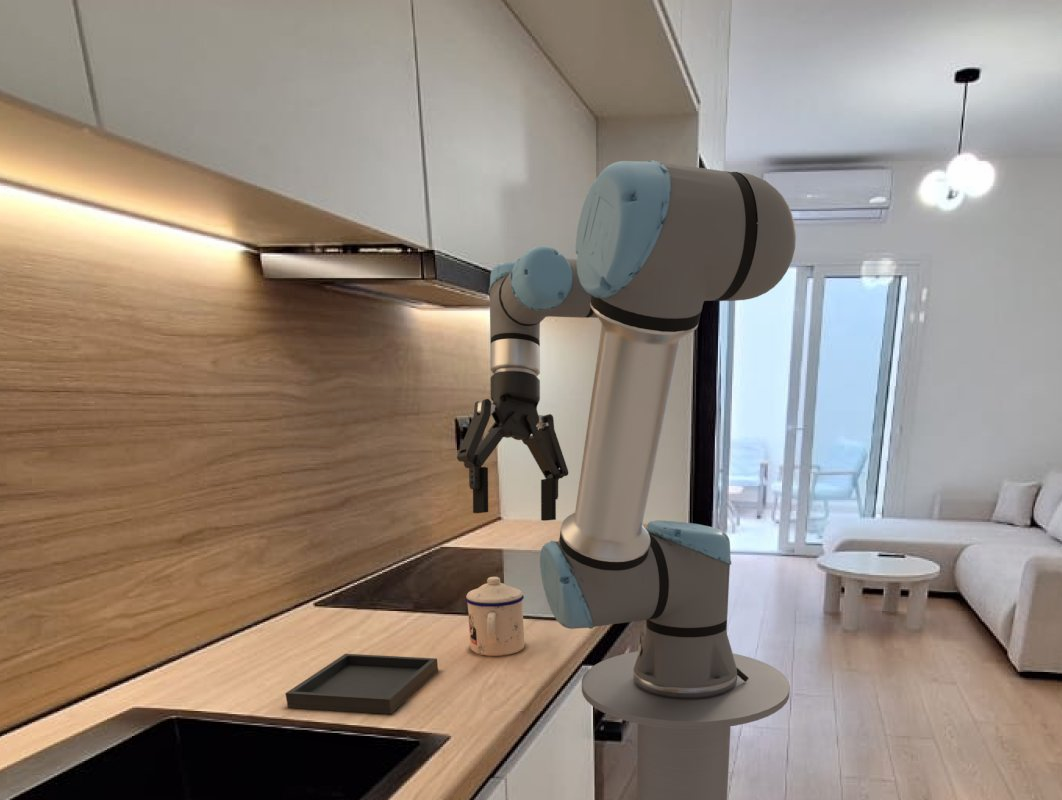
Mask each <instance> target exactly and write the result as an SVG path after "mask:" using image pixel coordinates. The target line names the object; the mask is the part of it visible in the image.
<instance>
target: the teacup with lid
mask: <svg viewBox="0 0 1062 800" xmlns="http://www.w3.org/2000/svg"><path fill="white" fill-rule="evenodd" d="M486 580H487V581H486V583H484V584H482V585H481V586H479V587H478V588H475V589H472V590H470V591H468V592H467V594H466V596H465V601H466V603H467V615H468V616H467V617H468V627H469V628H468V629H469V630H468V631H469V643H470V649H471V651H472V652H473V653H475V654H478V655H481V656H489V657H501V656H508V655H512V654H516V653H518V652H520V651H522V650H523V649H524V648H525V628H524V626H525V625H524V605H523V600H524V594H523V592H522V591H521V590H520V589H519V588H516V587H512V586H510V585H508V584H506V583H503V582H501V578H500V577H498V576H490V577H488V578H487V579H486Z"/></svg>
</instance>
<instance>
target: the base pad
mask: <svg viewBox="0 0 1062 800" xmlns="http://www.w3.org/2000/svg"><path fill="white" fill-rule="evenodd" d="M438 672H439V665H438V658H435V657H418V656H417V657H415V656H396V655H381V654H379V655H376V654H359V653H358V654H357V653H344V654H342V655H340V656H339V657H338V658H336V659H334V660H333V661H332V662H330V663H329V664H327V665H326V666H325V667H323V668H321V669H320V670H318V671H317V672H315V673H314V674H312V675H310V676H309V677H308V678H306V679H305V680H303V681H301V682H300V683H298V684H297V685H296V686H294V687H293V688H291V689H290V690H288V691H286V692H285V699H286V706H287V708H288V709H302V710H318V711H319V710H320V711H335V712H350V713H365V714H366V713H367V714H381V715H382V714H383V715H392V714H394V712H395V711H397V709H398V708H400V707H401V706H402V705H403V704H404V703H406V702H407V701H408V700H409V699H410V698H411V697H412V696H413V695H414V694H415V693H417V692H418V690H420V689H421V688H422V687H423V686H424V685H426V683H427V682H429V681H430V680H431V679H432V678H433V677H434V676H435V675H436V674H437V673H438Z"/></svg>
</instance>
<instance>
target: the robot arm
mask: <svg viewBox="0 0 1062 800" xmlns="http://www.w3.org/2000/svg"><path fill="white" fill-rule="evenodd" d="M795 223H796V222H795V220H794V216H793V213H792V211H791V207H790V206H789V204H788V203H787V201H786V199H785V197H784V196H783V194H781V193H780V192H779V191H778V190H777V188H776V187H774V186H773V185H771V183H769V182H768V181H767V180H765V179H763V178H761V177H759V176H756V175H754V174H750V173H746V172H740V171H727V170H720V169H719V170H718V169H712V168H704V167H698V166H697V167H696V166H691V165H689V166H688V165H683V164H676V163H668V162H661V161H656V160H653V159H650V160H646V161H640V160H639V161H637V160H620V161H616V162H613V163H611V164H608V165H607V167H605V168H603V170H601V172H600V173H599V175H598V176H597V177H596V178H595V179H594V181H593V182H592V184H591V186H590V187H589V190H588V192H587V194H586V196H585V199H584V201H583V204H582V208H581V211H580V214H579V219H578V224H577V229H576V238H575V254H576V255H577V258H566V257H565V255H564V254H563V253H561V252H559V251H558V250H557V249H555V248H554V247H551V246H547V245H539V246H535V247H532V248H531V249H529V250H528V251H527V252H525V254H523V255H522V256H521V257H520V258H518V259H517V261H516V262H515V261H514V262H513V261H509V262H503V263H501V264H498V265H496V266H494V267H493V269H492V270H491V271H490V277H489V288H488V299H489V334H490V335H489V338H490V339H489V340H490V343H489V344H490V345H489V346H490V347H489V348H490V349H489V350H490V351H489V352H490V355H489V356H490V358H489V359H490V361H489V363H490V365H489V366H490V372H491V373H492V375H491V376H490V399H489V398H485V399H480V400H477V401H476V402H474V408H473V417H472V419H471V420H470V424H469V426H468V428H467V430H466V433H465V436H464V438H463V440H462V443H461V444H460V447H459V450H458V452H457V455H456V459H457V461H458V462H462V463H463V466H464V468H465V469H468V478H469V479H468V483H469V484H468V485H469V489H470V490H472V513H473V514H484V513H489V467H488V466H483V465H484V464H485V463H486V461H487V460H488V459H489V457H490V456H491V454H492V453H493V452H494V450H495V449H496V448H497V447H498V445H499V443H500V442H501V441H502V440H503V439H504V438H506V439H509V438H512V439H513V440H516V441H521V442H522V443H523V444H524V445H526V447H527V448H528V451H530V454H531V455H532V457H533V458H534V461H535V463H536V464H537V466H538V468H539V470H540V472H541V473H542V475H543V477H544V478H543V479H540V521H544V522H546V521H556V520H557V500H558V499H559V481H560V479H563V478H564V477H567V476H569V469H568V466H567V463H566V460H565V457H564V455H563V450H562V448H561V445H560V442H559V439H558V436H557V433H556V429H555V422H554V421H555V419H554V415H553V414H551V413H548V414H544V415H543V414H539V412H538V406H539V403H540V401H541V380H540V378H539V377H538V376H539V375H540V374H541V347H540V346H541V342H540V340H541V338H540V337H541V323H542V322H543V321H544V319H546V318H547V317H549V318H551V317H553V318H582V319H583V318H586V319H588V318H595V319H598V320H599V322H600V323H601V327H600V334H599V342H598V348H597V354H596V355H597V356H596V363H595V370H594V378H593V385H592V392H591V397H590V398H591V399H590V406H589V413H588V419H587V427H586V434H585V441H584V448H583V455H582V461H581V468H580V469H581V470H580V476H579V482H578V490H577V495H576V497H577V498H576V504H575V511H574V512H573V513H571V514H569V515H568V516H567V517H565V518H564V519H563V521H562V523H561V525H560V532H559V539H558V541H555V540H550V541H549V542H546V543H544V545H543V546H542V547H541V549H540V555H539V556H540V557H539V569H540V577H541V582H542V586H543V590H544V593H545V598H546V600H547V604H548V606H549V609H550V611H551V613H552V615H553V617H554V619H555V620H556V621H557V623H559V625H561V626H562V627H564V628H567V629H570V630H575V629H592V630H593V629H594V628H596V627H603V626H611V625H617V624H627V623H631V622H632V623H633V622H640V621H645V622H646V623H645V624H646V625H645V633H644V635H643V639H642V642H640V643H639V646H638V649H637V651H638V652H639V654H638V657H637V660H636V663H635V666H634V683H635V685H636V686H637V687H638V688H639V689H641V690H643V691H645V692H647V693H649V694H652V695H656V696H660V697H665V698H671V699H686V700H691V699H705V698H712V697H716V696H720V695H723V694H726V693H728V692H730V691H731V690H733V689H734V688H735V687H736V685H737V675H738V676H739V677H740V678H741V679H742V680H744V681H745V682H746V681H747V680H748V678H749V677H747V676H746V675H745V674H744V673H743V672H741V671H740V670H739V669H738V668H737V667H736V664H735V660H734V657H733V650H732V647H731V646H732V645H731V643H730V640H729V635H728V615H729V613H728V612H729V593H730V592H729V590H730V571H731V565H732V559H731V541H730V538H729V536H728V534H727V533H726V532H725V531H724V530H722V529H719V528H717V527H712V526H709V525H704V524H699V523H692V522H686V521H685V522H684V521H675V520H650V521H649V522H648V523H647V525H646V527H645V526H644V525H643V523H644V518H645V515H646V514H645V513H646V508H647V503H648V499H649V494H650V490H651V485H652V480H653V474H654V470H655V465H656V461H657V456H658V451H659V445H660V441H661V436H662V432H663V427H664V421H665V418H666V412H667V407H668V404H669V403H668V402H669V398H670V394H671V393H670V392H671V388H672V383H673V380H674V379H673V378H674V374H675V370H676V363H677V360H678V354H679V350H680V345H681V340H682V339H683V338H685V337H687V336H689V334H691V333H693V332H694V331H695V330H697V328H698V326H699V324H700V319H701V314H702V311H703V305H704V303H705V302H711V301H712V302H713V301H714V302H735V301H736V302H737V301H747V300H752V299H754V298H758V297H761V296H762V295H765V294H766V293H769V291H771V290H772V289H774V288H775V287H776V286H777V285H778V284H779V283H780V282H781V281H782V280H783V278H784V277H785V275H786V273H787V272H788V270H789V269H790V266H791V264H792V261H793V258H794V254H795V251H796V242H797V232H796V231H797V230H796V224H795ZM491 401H492V402H491ZM491 416H492V419H493V420H494V423H493V424H492V425H491V427H490V428H489V429H488V431H487V432H488V433H487V434H486V435H485V437H484V438H483V436H484V433H485V430H486V428H487V426H488V423H489V421H490V418H491ZM482 438H483V439H482ZM481 440H482V441H481Z"/></svg>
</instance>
